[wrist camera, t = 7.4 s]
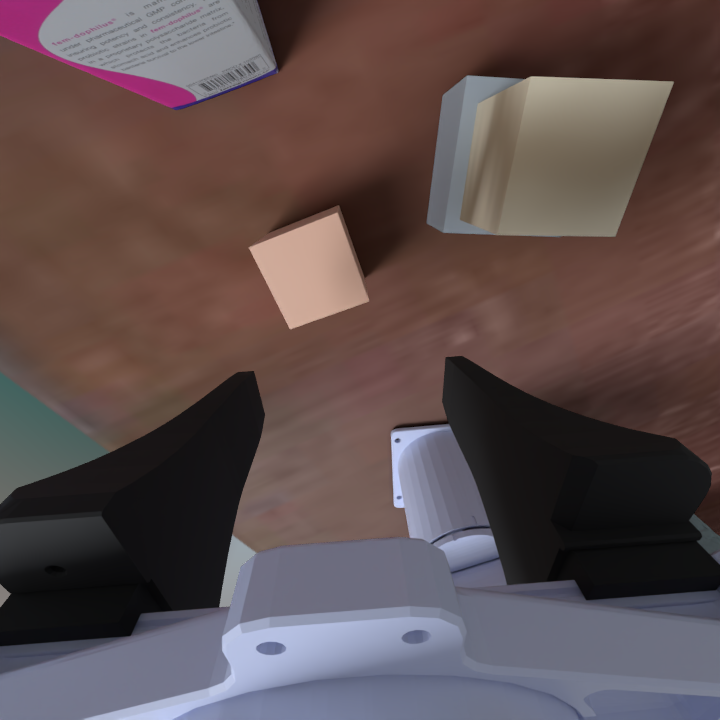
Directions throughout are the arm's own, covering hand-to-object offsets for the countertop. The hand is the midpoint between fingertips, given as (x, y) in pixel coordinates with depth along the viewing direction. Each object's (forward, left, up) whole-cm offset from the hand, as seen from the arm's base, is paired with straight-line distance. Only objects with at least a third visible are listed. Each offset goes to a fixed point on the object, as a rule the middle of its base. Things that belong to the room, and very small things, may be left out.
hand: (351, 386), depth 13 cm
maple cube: (+7, -8, -7) cm, 13 cm away
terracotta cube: (+3, +2, -10) cm, 11 cm away
